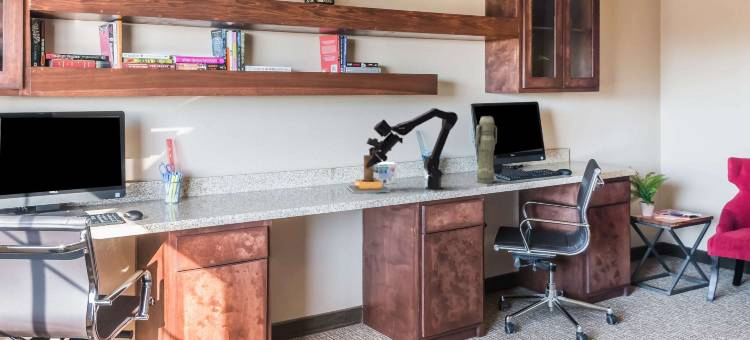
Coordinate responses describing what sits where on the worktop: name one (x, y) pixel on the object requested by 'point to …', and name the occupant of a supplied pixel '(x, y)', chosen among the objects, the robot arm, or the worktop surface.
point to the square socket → (368, 186)
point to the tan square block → (368, 169)
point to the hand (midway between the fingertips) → (365, 166)
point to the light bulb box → (384, 172)
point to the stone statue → (486, 149)
